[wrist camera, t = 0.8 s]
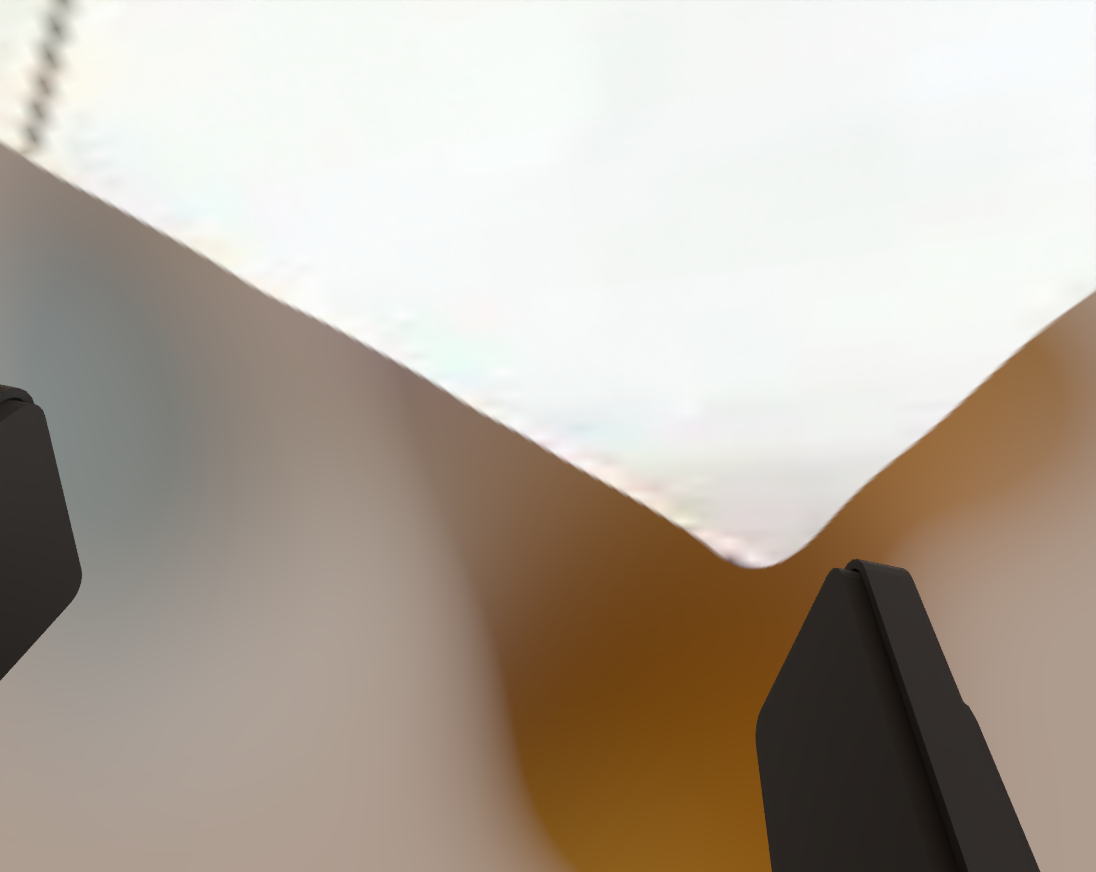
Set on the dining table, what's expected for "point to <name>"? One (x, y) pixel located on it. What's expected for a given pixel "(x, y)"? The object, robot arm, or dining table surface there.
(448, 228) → the dining table surface
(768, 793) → the robot arm
